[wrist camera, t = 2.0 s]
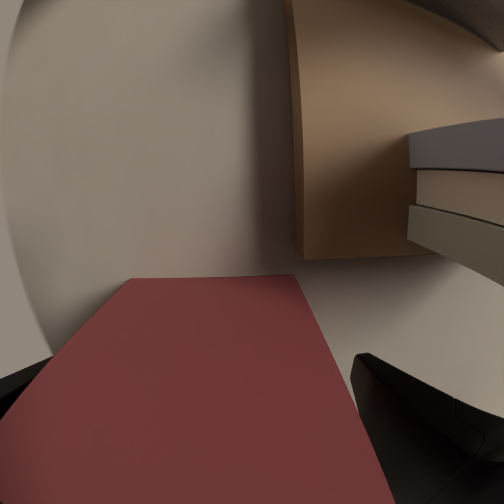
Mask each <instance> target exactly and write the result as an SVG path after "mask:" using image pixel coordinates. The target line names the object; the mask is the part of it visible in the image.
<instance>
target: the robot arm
mask: <svg viewBox="0 0 504 504" xmlns="http://www.w3.org/2000/svg"><path fill="white" fill-rule="evenodd" d="M54 356H55V355H54ZM54 356H52V357H49V358H47V359H45V360H43V361H41V362H38V363H36V364H34V365H31V366H29V367H27V368H24V369H22V370H20V371H18V372H15V373H13V374H11V375H8V376H6V377H4V378H1V379H0V420H1V419H2V418H3V416H4V415H5V414H6V412H7V411H8V410H9V409H10V407H11V406H12V405H13V404H14V402H15V401H16V400H17V399H18V397H19V396H20V395H21V394H22V392H23V391H24V390H25V389H26V388H27V386H28V385H29V384H30V383H31V382H32V380H33V379H34V378H35V377H36V376H37V375H38V374H39V372H40V371H41V370H42V369H43V368H44V367H45V366H46V364H47V363H48V362H49V361H50V360H51V359H52V358H53V357H54ZM350 380H351V385H352V388H353V392H354V396H355V400H356V404H357V408H358V412H359V416H360V418H361V420H362V423H363V425H364V427H365V430H366V432H367V434H368V437H369V439H370V442H371V444H372V446H373V449H374V451H375V454H376V456H377V458H378V461H379V463H380V466H381V468H382V471H383V473H384V476H385V478H386V481H387V483H388V486H389V488H390V491H391V493H392V496H393V498H394V501H395V504H504V418H502V417H499V416H496V415H493V414H490V413H488V412H485V411H482V410H480V409H477V408H475V407H473V406H471V405H468V404H466V403H464V402H462V401H460V400H458V399H456V398H453V397H452V396H450V395H448V394H446V393H444V392H442V391H440V390H438V389H436V388H434V387H432V386H430V385H428V384H426V383H424V382H422V381H420V380H419V379H417V378H415V377H413V376H411V375H409V374H407V373H405V372H403V371H401V370H400V369H398V368H396V367H394V366H392V365H390V364H388V363H387V362H385V361H383V360H381V359H379V358H377V357H375V356H374V355H372V354H370V353H361V354H357V355H356V356H355V357H354V361H353V366H352V370H351V375H350ZM0 504H2V503H1V502H0Z"/></svg>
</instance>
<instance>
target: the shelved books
mask: <svg viewBox="0 0 504 504" xmlns="http://www.w3.org/2000/svg"><path fill="white" fill-rule="evenodd" d="M408 136H409V158H410V167H411V168H418V169H425V170H417V200H416V204H419V205H424V206H416V205H409V218H408V232H407V239H408V240H410V241H412V242H414V243H417V244H419V245H421V246H423V247H426V248H428V249H430V250H432V251H434V252H437V253H439V254H441V255H443V256H445V257H447V258H449V259H451V260H453V261H456V262H458V263H460V264H462V265H464V266H466V267H468V268H470V269H472V270H474V271H476V272H478V273H479V274H481V275H483V276H485V277H487V278H489V279H491V280H493V281H495V282H496V283H498V284H500V285H502V286H504V118H496V119H488V120H481V121H474V122H467V123H461V124H455V125H449V126H443V127H438V128H433V129H428V130H423V131H418V132H413V133H409V134H408Z"/></svg>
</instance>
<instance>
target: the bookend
mask: <svg viewBox="0 0 504 504" xmlns="http://www.w3.org/2000/svg"><path fill="white" fill-rule="evenodd" d="M404 1H407V2H410V3H412V4H415V5H417V6H419V7H422V8H424V9H426V10H429V11H431V12H433V13H435V14H437V15H439V16H441V17H443V18H445V19H447V20H449V21H451V22H453V23H455V24H457V25H458V26H460V27H462V28H464V29H466V30H467V31H469V32H471V33H472V34H474V35H476V36H477V37H479V38H480V39H482V40H483V41H485V42H487V43H488V44H490V45H491V46H492V47H494V48H495V49H497V50H498V51H500V52H501V53H502V52H504V0H404Z"/></svg>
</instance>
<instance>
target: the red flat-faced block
mask: <svg viewBox="0 0 504 504" xmlns="http://www.w3.org/2000/svg"><path fill="white" fill-rule="evenodd" d="M0 502H1V503H2V504H395V501H394V498H393V496H392V493H391V491H390V488H389V486H388V483H387V481H386V478H385V476H384V473H383V471H382V468H381V466H380V463H379V461H378V458H377V456H376V454H375V451H374V449H373V446H372V444H371V442H370V439H369V437H368V434H367V432H366V430H365V427H364V425H363V423H362V420H361V418H360V416H359V414H358V411H357V409H356V407H355V404H354V402H353V400H352V398H351V395H350V393H349V391H348V389H347V386H346V384H345V382H344V380H343V378H342V375H341V373H340V371H339V369H338V367H337V364H336V362H335V360H334V358H333V356H332V354H331V351H330V349H329V347H328V345H327V343H326V341H325V338H324V336H323V334H322V332H321V330H320V328H319V326H318V324H317V322H316V319H315V317H314V315H313V313H312V311H311V309H310V307H309V305H308V303H307V301H306V299H305V297H304V294H303V292H302V290H301V288H300V286H299V284H298V282H297V280H296V278H295V276H294V275H273V276H244V277H206V278H131V279H130V280H129V281H128V282H126V283H125V284H124V285H123V286H122V287H121V288H120V289H119V290H118V291H117V292H116V293H115V294H114V295H113V296H112V297H111V298H110V299H109V300H108V301H107V302H106V303H105V304H104V305H103V306H102V307H101V308H100V309H99V310H98V311H97V312H96V313H95V314H94V315H93V316H92V317H91V318H90V319H89V320H88V321H87V322H86V323H85V324H84V325H83V326H82V327H81V328H80V329H79V330H78V331H77V332H76V333H75V334H74V335H73V336H72V337H71V338H70V339H69V340H68V341H67V343H66V344H65V345H64V346H63V347H62V348H61V349H60V350H59V351H58V352H57V353H56V354H55V356H54V357H53V358H52V359H51V360H50V361H49V362H48V363H47V364H46V366H45V367H44V368H43V369H42V370H41V371H40V372H39V374H38V375H37V376H36V377H35V378H34V379H33V380H32V382H31V383H30V384H29V385H28V386H27V388H26V389H25V390H24V391H23V392H22V394H21V395H20V396H19V397H18V399H17V400H16V401H15V402H14V404H13V405H12V406H11V407H10V409H9V410H8V411H7V412H6V414H5V415H4V416H3V418H2V419H1V420H0Z"/></svg>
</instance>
